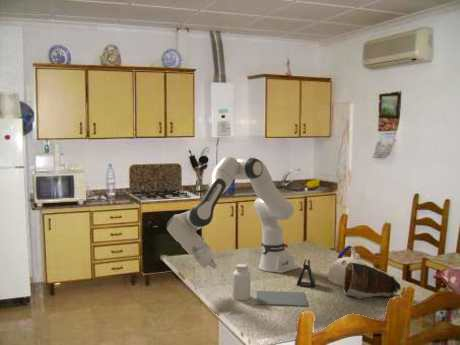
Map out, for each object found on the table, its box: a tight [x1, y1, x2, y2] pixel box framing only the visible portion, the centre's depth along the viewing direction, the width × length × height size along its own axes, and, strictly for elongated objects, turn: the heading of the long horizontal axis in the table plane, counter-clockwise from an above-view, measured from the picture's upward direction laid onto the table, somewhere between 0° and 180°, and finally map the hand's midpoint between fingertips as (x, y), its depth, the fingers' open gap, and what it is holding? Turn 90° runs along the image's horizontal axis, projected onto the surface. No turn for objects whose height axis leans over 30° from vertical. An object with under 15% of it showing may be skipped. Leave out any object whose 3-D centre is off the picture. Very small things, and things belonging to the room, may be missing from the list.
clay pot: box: [342, 262, 402, 300], centre depth 214 cm, size 15×15×25 cm
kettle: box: [327, 245, 364, 287], centre depth 236 cm, size 20×21×18 cm
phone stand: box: [296, 259, 317, 288], centre depth 228 cm, size 9×6×12 cm, turn 76°
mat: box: [256, 290, 309, 307], centre depth 208 cm, size 22×16×1 cm
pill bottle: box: [232, 263, 252, 301], centre depth 208 cm, size 8×8×15 cm
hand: (215, 267), depth 208 cm, fingers closed
